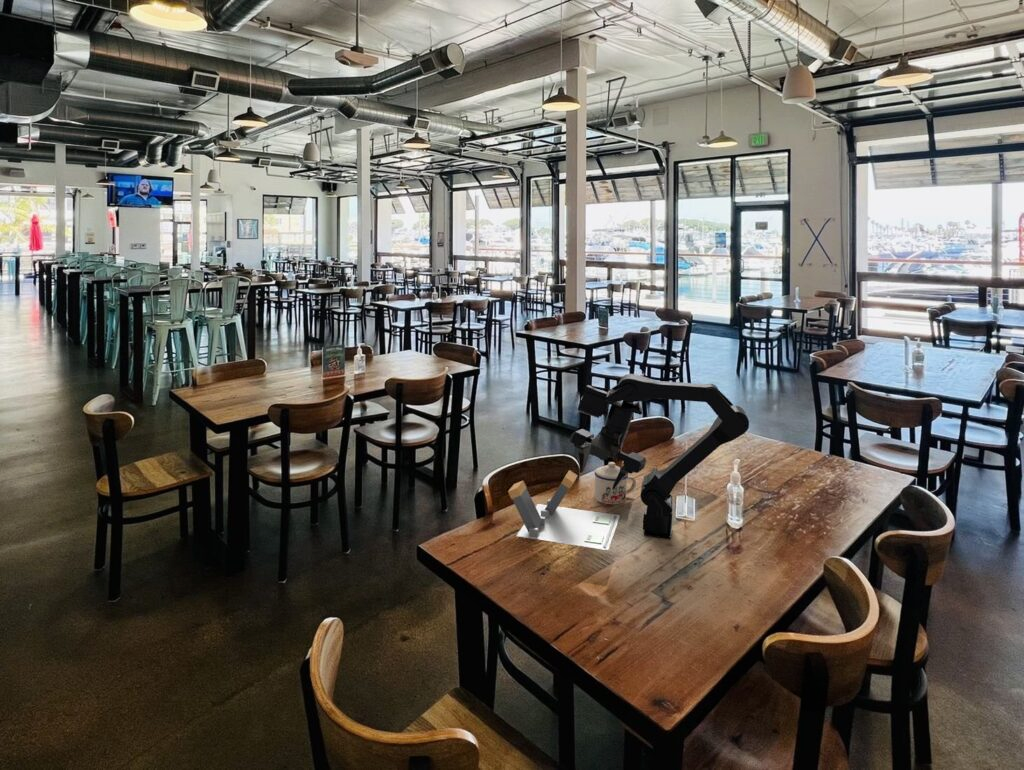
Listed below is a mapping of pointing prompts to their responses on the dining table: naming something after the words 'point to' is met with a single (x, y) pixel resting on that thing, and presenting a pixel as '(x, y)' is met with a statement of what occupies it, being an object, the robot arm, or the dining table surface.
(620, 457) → the robot arm
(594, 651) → the dining table surface
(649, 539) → the dining table surface
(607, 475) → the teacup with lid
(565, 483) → the rocker
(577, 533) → the switch unit
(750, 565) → the dining table surface
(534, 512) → the block
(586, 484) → the dining table surface
